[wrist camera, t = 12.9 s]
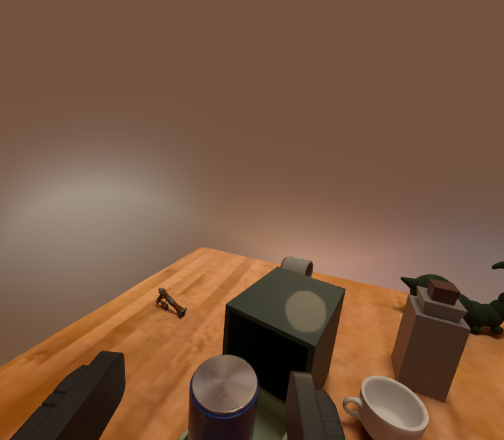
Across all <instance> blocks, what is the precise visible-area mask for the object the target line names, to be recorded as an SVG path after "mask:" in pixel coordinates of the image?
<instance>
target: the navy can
mask: <svg viewBox="0 0 504 440" xmlns="http://www.w3.org/2000/svg"><path fill="white" fill-rule="evenodd" d="M258 393H259V382H258V378H257V375H256V373H255V372H254V370H253V368H252V367H251V366H250V364H249V363H247V362H246V361H245V360H243V359H241V358H239V357H237V356H233V355H218V356H214V357H212V358H210V359H208V360H206V361H204V362H203V363H202V364H201V365H200V366H199V367H198V369H197V370H196V371H195V373H194V374H193V376H192V379H191V382H190V391H189V419H188V440H253V434H254V426H255V418H256V410H257V401H258Z"/></svg>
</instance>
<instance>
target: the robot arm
mask: <svg viewBox="0 0 504 440" xmlns="http://www.w3.org/2000/svg"><path fill="white" fill-rule="evenodd" d="M124 390H125V362H124V354H123V353H119V352H109V351H102V352H100V353H99V354H98V355H97V356H96V357H95V359H94V360H93V361H92V362H91V363H90V365H89V366H88V365H82V366H81V367H79V368H78V369H76V370H75V371H73V372H72V373H71V374H69V375H68V376H66V377H65V379H64V380H63V381H62V382H61V383H60V384H59V385H58V386H57V387H56V389H55V390H54V391H53V393H52V394H50V395H49V396H48V397H47V399H46V400H45V401H44V402H43V403H42V406H41V407H40V406H39V407H38V409H37V410H36V411H35V412H34V413H33V414H32V415H31V416H30V417H29V419H28V420H27V421H26V422H25V423H24V424H23V425H22V426H21V427H20V429H19V430H18V431H17V432H16V433H15V434H14V435H13V436H12V437H11V439H10V440H99V438H100V436H101V435H102V433H103V431H104V429H105V428H106V426H107V424H108V423H109V421H110V419H111V417H112V416H113V414H114V412H115V410H116V409H117V407H118V405H119V403H120V401H121V399H122V397H123V394H124ZM285 419H286V430H287V440H345V435H344V432H343V429H342V425H341V424H340V419H339V415H338V412H337V409H336V406H335V404H334V403H333V401H332V400H331V398H330V397H329V395H328V394H327V392H326V391H322V390H315V386H314V382H313V378H312V375H311V373H307V372H297V371H291V373H290V379H289V385H288V391H287V398H286V407H285Z"/></svg>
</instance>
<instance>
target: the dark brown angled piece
mask: <svg viewBox="0 0 504 440" xmlns="http://www.w3.org/2000/svg"><path fill="white" fill-rule="evenodd" d="M158 290H159V293H160V295H159V297H158V298H157V300H156V303H157V304H158V303H159V302H160V301H161V299H162V298H165V299H166V301H168V303H169V304H170V305H171V306H173V307H174V309H175V310H176V311H177V312H178V314H179V315H178V317H181V316H182V315H183V314H185V312H186V310H187V308H182V307H181V306H180V305H178V304H177V303H176V302H175V300H174V299H173V298H171V296H169V295H168V294H167V293H166V290H165V289H164V288H162V289H161V288H159V289H158ZM162 296H163V297H162ZM161 303H162V305H161V307H163V308H164V309H169V307H168V304H167V303H166V302H163V301H161Z"/></svg>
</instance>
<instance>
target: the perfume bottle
mask: <svg viewBox="0 0 504 440" xmlns="http://www.w3.org/2000/svg"><path fill="white" fill-rule="evenodd" d="M459 295H460V291H459V290H458V289H457V288H456V287H455V285H454V284H453V283H448V282H444V281H439V280H435V279H430V278H429V282H428V288H424V287H420V286H417V296H413V295H409V294H408V298H407V302H406V305H405V309H404V313H403V316H402V320H401V323H400V327H399V331H398V334H397V338H396V342H395V345H394V349H393V353H392V356H391V358H392V363H393V369H394V374H395V380H396V381H398V382H399V383H401V384H403V385H404V386H406V387H407V388H409V389H410V390H412V391H415V392H418V393H420V394H423V395H426V396H428V397H431V398H434V399H436V400H439V401H442V402H444V403H445V400H446V397H447V394H448V392H449V389H450V386H451V383H452V380H453V378H454V375H455V372H456V369H457V366H458V364H459V361H460V358H461V355H462V353H463V350H464V347H465V344H466V341H467V339H468V336H469V333H470V330H471V329H470V328H469V326H468V325H467V323H466V322H465V321H464V319H463V317H464V316H465V315H466V313H467V312H468V311H467V310H466V309H465V308H464V306H463V305H462V304H461V302H460V301H459V300H458V297H459Z"/></svg>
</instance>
